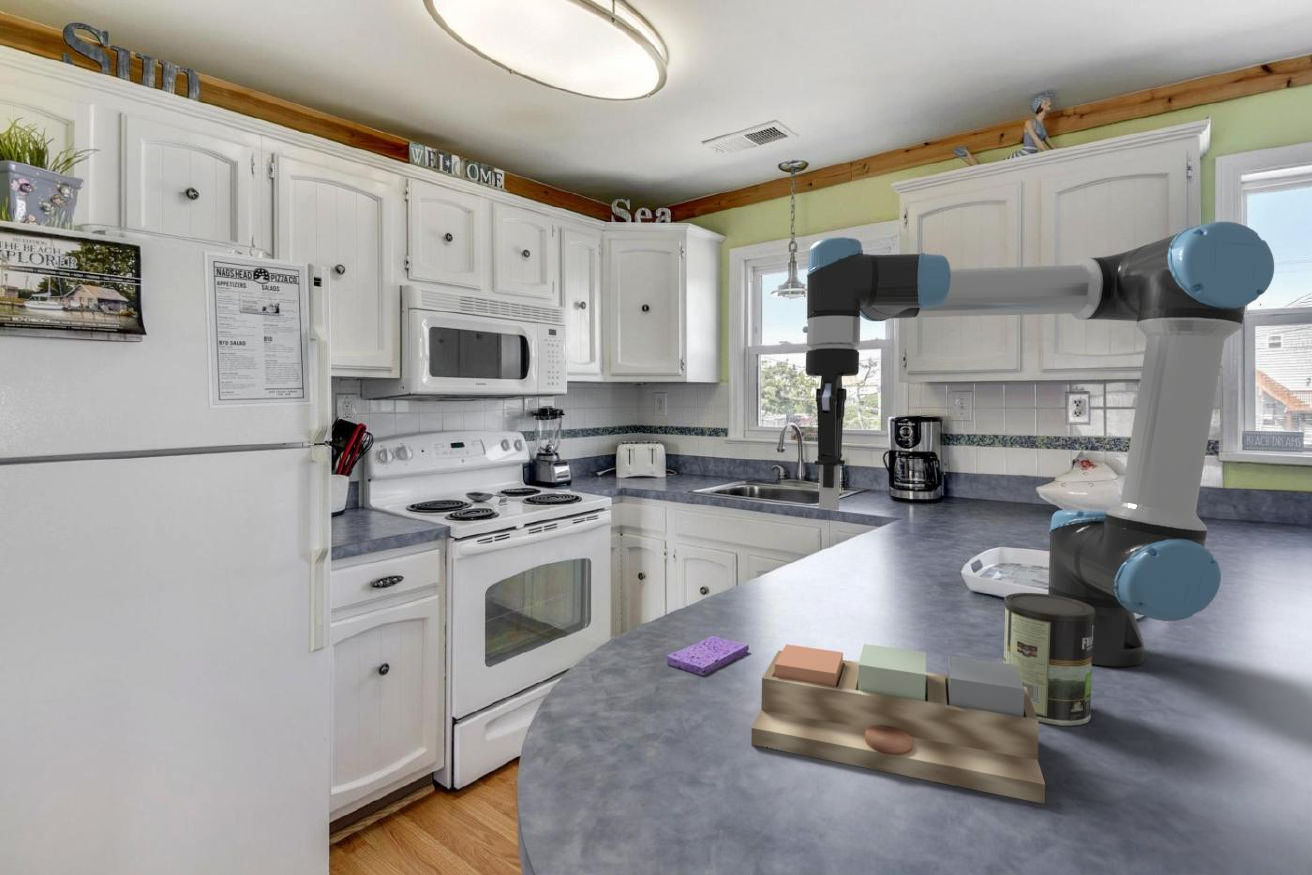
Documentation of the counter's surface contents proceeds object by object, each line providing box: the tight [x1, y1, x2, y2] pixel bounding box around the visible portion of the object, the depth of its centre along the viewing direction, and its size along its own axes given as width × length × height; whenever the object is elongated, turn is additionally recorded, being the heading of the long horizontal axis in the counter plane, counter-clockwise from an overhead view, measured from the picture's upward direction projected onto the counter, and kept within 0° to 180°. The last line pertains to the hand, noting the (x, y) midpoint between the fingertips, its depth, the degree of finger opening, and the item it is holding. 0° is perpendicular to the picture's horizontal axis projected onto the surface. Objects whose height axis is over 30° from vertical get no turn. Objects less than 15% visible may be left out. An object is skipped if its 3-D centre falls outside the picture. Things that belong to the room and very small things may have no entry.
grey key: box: [947, 654, 1025, 717], centre depth 78 cm, size 7×7×5 cm
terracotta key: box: [775, 644, 844, 687], centre depth 85 cm, size 7×7×5 cm
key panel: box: [750, 650, 1046, 805], centre depth 79 cm, size 30×15×6 cm, turn 68°
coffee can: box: [1003, 592, 1095, 727], centre depth 88 cm, size 10×10×14 cm
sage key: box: [858, 643, 927, 701], centre depth 82 cm, size 7×7×5 cm
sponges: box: [666, 635, 750, 676], centre depth 105 cm, size 7×13×2 cm, turn 140°
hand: (828, 509), depth 99 cm, fingers closed
